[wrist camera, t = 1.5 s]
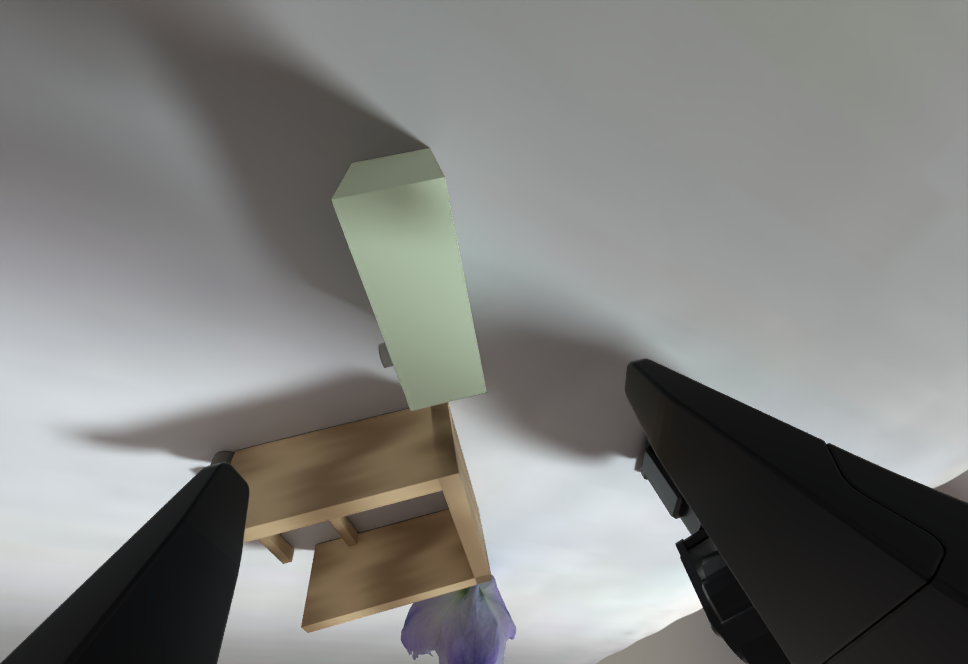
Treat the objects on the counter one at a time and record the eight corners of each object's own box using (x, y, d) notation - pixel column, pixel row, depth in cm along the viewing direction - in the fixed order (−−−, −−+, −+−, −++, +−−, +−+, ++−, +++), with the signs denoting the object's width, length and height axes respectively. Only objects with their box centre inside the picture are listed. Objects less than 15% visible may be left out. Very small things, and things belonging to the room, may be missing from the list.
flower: (420, 627, 23) (449, 757, 24) (526, 551, 27) (544, 664, 29) (373, 548, 30) (397, 650, 32) (462, 499, 35) (479, 590, 36)
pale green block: (429, 147, 14) (445, 177, 10) (465, 318, 19) (487, 392, 14) (330, 166, 14) (299, 205, 9) (391, 335, 19) (389, 416, 14)
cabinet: (446, 396, 21) (459, 480, 17) (478, 509, 28) (493, 588, 24) (194, 458, 20) (137, 564, 16) (292, 559, 27) (272, 652, 23)
